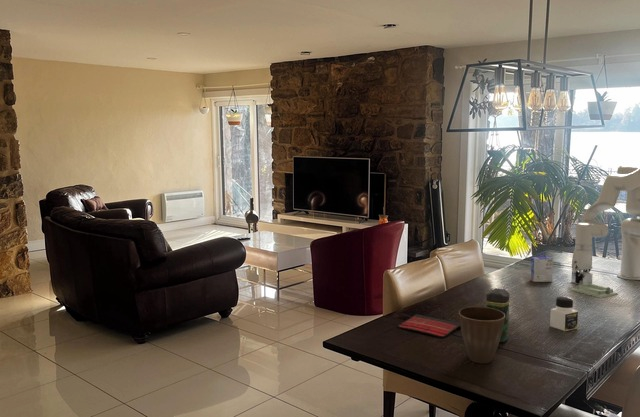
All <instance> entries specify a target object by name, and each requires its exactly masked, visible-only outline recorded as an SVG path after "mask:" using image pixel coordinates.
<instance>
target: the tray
mask: <svg viewBox="0 0 640 417" xmlns="http://www.w3.org/2000/svg"><path fill="white" fill-rule="evenodd" d="M570 290H571V291H573V292H577V293H580V294H584V295H588V296H591V295H592V297H596V298H600V299H603V298H608V297H612V296H617V295H619V294H618V292H617V291H614V289H613V288H611V287H607V286H602V285H598V284H595V283H592V284H590V283H587V284H583V281H580V284H576V286H575V287H571V289H570Z"/></svg>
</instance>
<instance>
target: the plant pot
mask: <svg viewBox="0 0 640 417" xmlns="http://www.w3.org/2000/svg"><path fill="white" fill-rule="evenodd" d="M458 317H459V323H460V326H461V328H460V331H461V335H462V340H463V344H464V346H465V351H466V353H467V356H468V358H469V360H470V361H472V362H473V363H476V364H489V363H491V362H492V360H494V359H493V358H494V357H495V355H496V352H497V349H498V346H499V344H500V342H499V341H500V338H501V335H502V331H503V326H504V321H505V314H504V313H503V312H502V311H499V310H497V309H493V308H487V307H486V306H468V307H463V308H461V309H460V310H459V311H458Z"/></svg>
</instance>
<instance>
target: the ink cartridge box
mask: <svg viewBox="0 0 640 417" xmlns="http://www.w3.org/2000/svg"><path fill="white" fill-rule="evenodd" d="M545 254H546V253H545V252H537V257H536V256H535V257H530V280H531V282H535V283H541V282H542V283H545V282H547V283H548V282H550V283H552V282H553V273H554V272H553V270H554V268H553V267H554V258H552V257H550V256H546V255H545Z"/></svg>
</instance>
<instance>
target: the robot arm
mask: <svg viewBox="0 0 640 417" xmlns="http://www.w3.org/2000/svg"><path fill="white" fill-rule="evenodd" d="M600 189H601V190H600V193H599V195H598V197H597V200H596V201H595V202H594V203H592V204H591V205H590V206H588V208H587V209H586V210H585V211H584V213H583V214H582V217H581V219H580V222H578V223H576V225H575V237H574V238H575V240H574V244H575V245H574V250H573V253H572V257H571V258H572V259H571V272H572V271H573V272H574V273H575V275H576V278H575V282H576V283H579V284H578V285H580V281H582V276H581V272H582V271H584V272H588V273H591V270H592V269H593V252H592V248H593V246H592V245H593V244H592V243H593V238H603V237H606V236H607V235H608V234H609V229H610V228H609V226H608V225H607V224H605V223H603V222H599V221H594V220H595V218H596V217H597V216H598V215H599V214H601V213H602V212H605V211H607V210H610V209H612V208H613V209H614V208H615V206H616V205H617V201H618V198H619V196H620V194H621V192H626V200H625V212H626V213H627V214H628V215H630V216H635V217H640V164H622V165H620V166H618V167H617V172H616V173H612V174H608V175H607V176H606V177H605V179H604V182H603V184H602V187H601V188H600ZM635 217H628V218H625V219H623V220H622V222H621V224H620V232H621V258H620V272H618V273H617V275H616V276H617V277H618V278H619V279H623V280H630V281H640V218H635ZM578 271H579V272H578ZM576 283H575V284H576Z"/></svg>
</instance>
